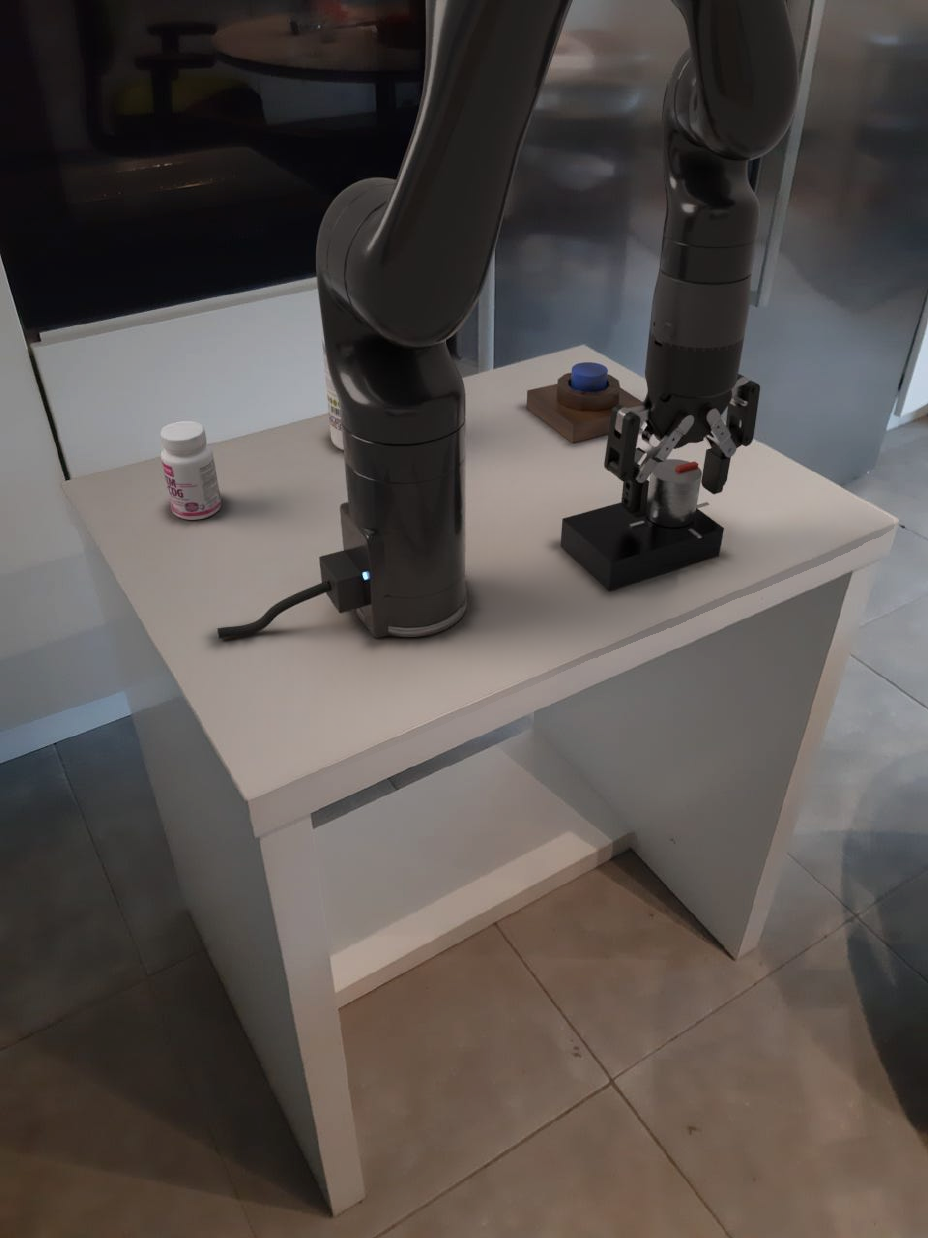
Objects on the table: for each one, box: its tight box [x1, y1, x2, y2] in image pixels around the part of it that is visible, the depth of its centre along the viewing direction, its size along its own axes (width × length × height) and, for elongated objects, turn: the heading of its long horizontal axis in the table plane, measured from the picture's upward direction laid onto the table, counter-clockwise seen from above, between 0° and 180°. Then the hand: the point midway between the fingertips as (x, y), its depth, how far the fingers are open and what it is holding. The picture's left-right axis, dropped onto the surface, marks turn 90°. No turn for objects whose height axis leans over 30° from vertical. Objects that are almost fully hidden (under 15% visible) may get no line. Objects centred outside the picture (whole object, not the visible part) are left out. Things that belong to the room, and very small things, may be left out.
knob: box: [646, 458, 703, 527], centre depth 87 cm, size 4×4×5 cm
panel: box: [560, 501, 725, 592], centre depth 89 cm, size 13×9×3 cm, turn 117°
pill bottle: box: [159, 420, 222, 521], centre depth 93 cm, size 5×5×8 cm
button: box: [570, 361, 609, 392], centre depth 109 cm, size 4×4×2 cm
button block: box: [526, 371, 644, 444], centre depth 111 cm, size 10×10×4 cm
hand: (673, 501), depth 88 cm, fingers open, 8 cm apart
